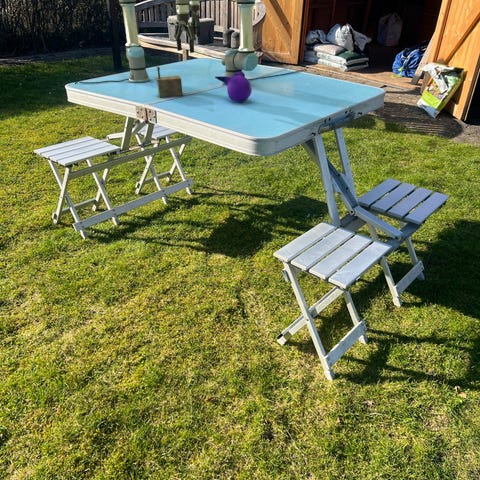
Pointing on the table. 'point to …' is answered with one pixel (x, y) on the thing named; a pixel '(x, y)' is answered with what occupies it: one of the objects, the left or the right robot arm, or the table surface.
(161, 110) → the table surface
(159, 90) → the chest
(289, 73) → the right robot arm
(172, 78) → the lid
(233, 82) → the toy
